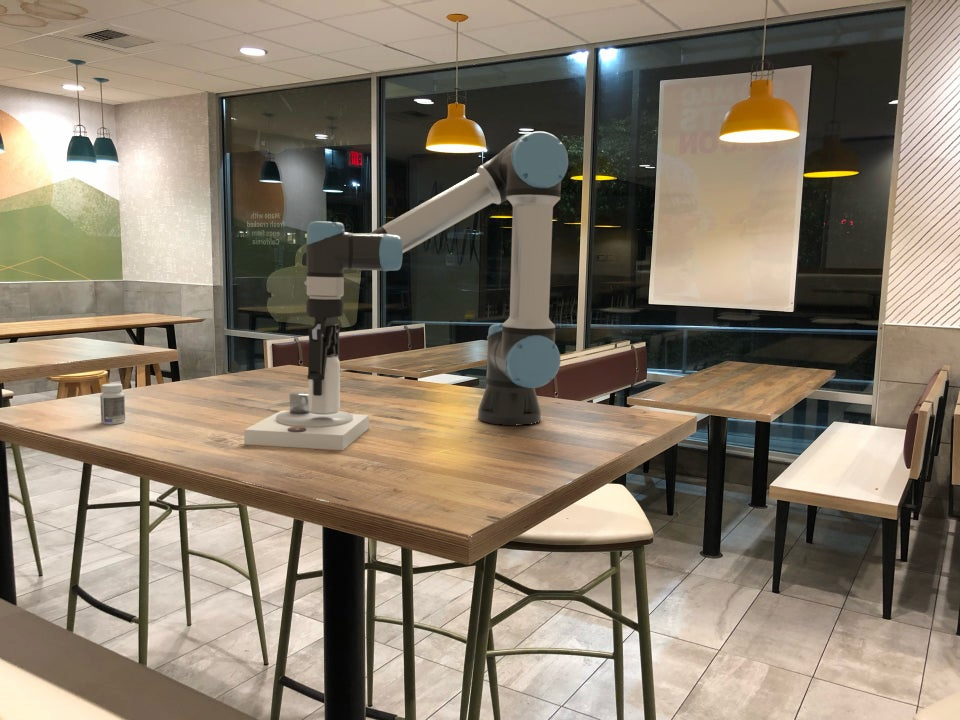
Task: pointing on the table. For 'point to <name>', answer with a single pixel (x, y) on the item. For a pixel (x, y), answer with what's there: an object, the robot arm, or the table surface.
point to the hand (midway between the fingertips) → (324, 407)
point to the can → (329, 386)
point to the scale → (307, 430)
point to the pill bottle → (112, 404)
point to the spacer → (299, 403)
